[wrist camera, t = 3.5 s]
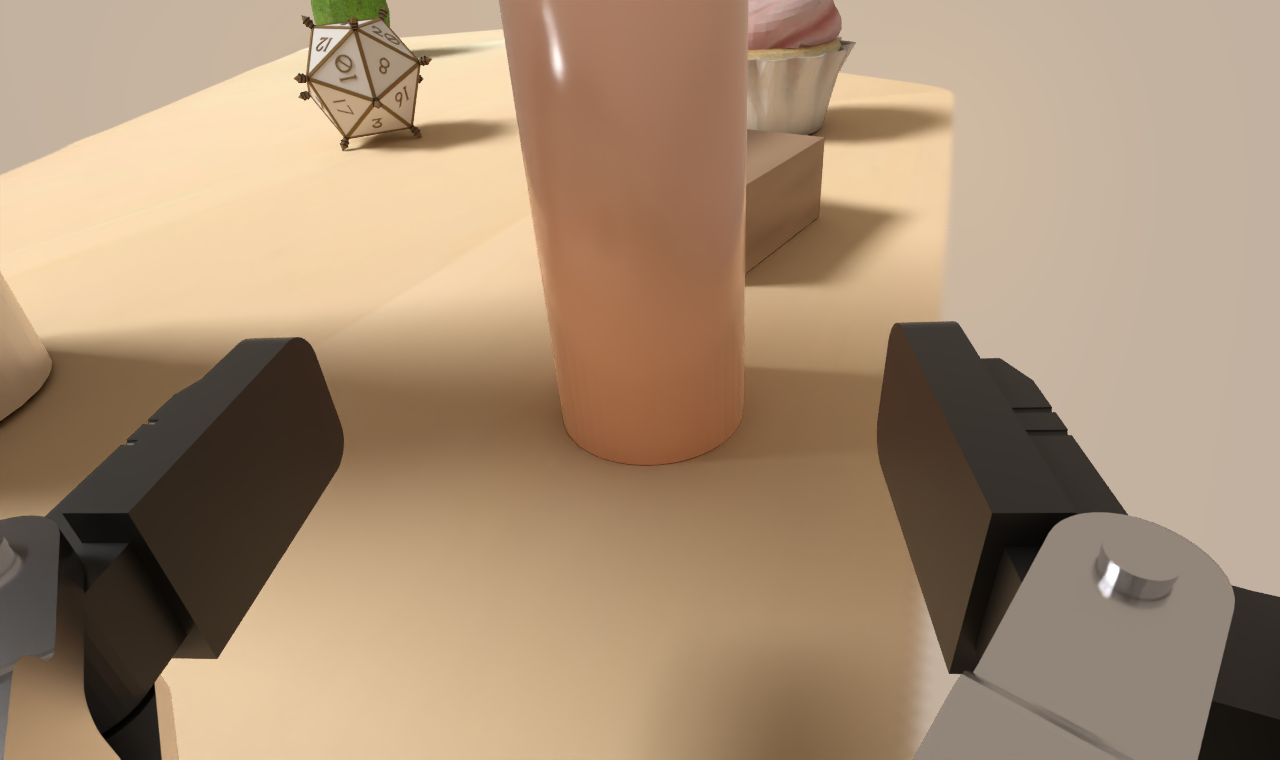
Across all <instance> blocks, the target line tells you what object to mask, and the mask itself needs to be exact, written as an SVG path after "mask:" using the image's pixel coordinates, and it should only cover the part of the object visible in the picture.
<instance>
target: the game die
mask: <svg viewBox="0 0 1280 760" xmlns="http://www.w3.org/2000/svg"><path fill="white" fill-rule="evenodd" d="M379 11H380V12H379V14H378V15H379V18H373V19H365V20H358V19H356V18H354V17H353V16H352V17H351V19H349V20H348V22H339V23H331V24H322V25H314V24H313V21H312V20H310V18H309V17H305V16H302V19H303V24H305V25H306V27H309V28H311V36H310V45H309V54H308V63H307V72H306V75H304V74H300V73H299V74H298V75H297V76H296V77H295V78H294V79H295V80H296V81H298V83H306V82H307V86H308V92H307V91H305V92H301V93H300V96H299V97H298V98H301V99H304V100H305V101H306V99H309V98H310V97H311V98H312V99H313V100H314V101H315V103H316V104H317V105H318V106H319V107H320V109H321V110H322V111H323V112H324V113H325V115H326V116H327V117H328V118H329V119H330V121H331V122H332V123H333V124H334V126H335V127H336V128H337V129H338V130H339V132H340V133H341V134H342V135H343V136H344V138H343V139H342V140H341V143H340V145H341V148H342V151H344V150H345V149H346V148H347V147H348V144H349V142H348V140H349V139H351V138H357V137H363V136H369V135H375V134H381V133H386V132H392V131H398V130H404V129H411V131H412V133H413V134H414V136H419V137H421V133H420V130H419V129H418V127H415V126H414V125H413V121H414V113H415V105H416V97H417V89H418V83H420V82H421V81H422V80H423V78H422V77H421V75H419V73H420V65H423V66H424V65H428V64H429V62H430V61H431V60H432V59H430V58H428V57H426V56H424V57H423V58H422V57H421V59H419V60H418V59H417V58H416V57H415V56H414V54H413V53H412V52H411V51H410V50H409V49H408V48H407V47H406V45H405V44H404V43H403V42H402V41H401V40H400V39H399V37H398V36H397V35H396V34H395V33H394V32H393V31H392V29H391V28H390V27H389V26H388V25H387V24H386V23H385V22H384V19H385V17H387V16H386V15H387V14H388V13H387V11H386V8H385V6H384V7H383V8H381V9H379Z"/></svg>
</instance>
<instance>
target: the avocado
mask: <svg viewBox="0 0 1280 760" xmlns="http://www.w3.org/2000/svg"><path fill="white" fill-rule="evenodd" d="M311 6H312V11H313V16H314V20H315V24H316V25H322V24H331V23H339V22H348V20H349V19H351V17H352V16H353V17H354V18H356V19H358V20H365V19H373V18H379V15H378V14H379V12H380V11H379V9H381V8H383V7H384V6H385V8H386V11H387V13H388V14H387V15H386V16H387V17H385V19H384V22H385V23H386V24H387V25H388V26H389V27H390V19H389V9H388V6H387V3H386V0H311Z"/></svg>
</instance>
